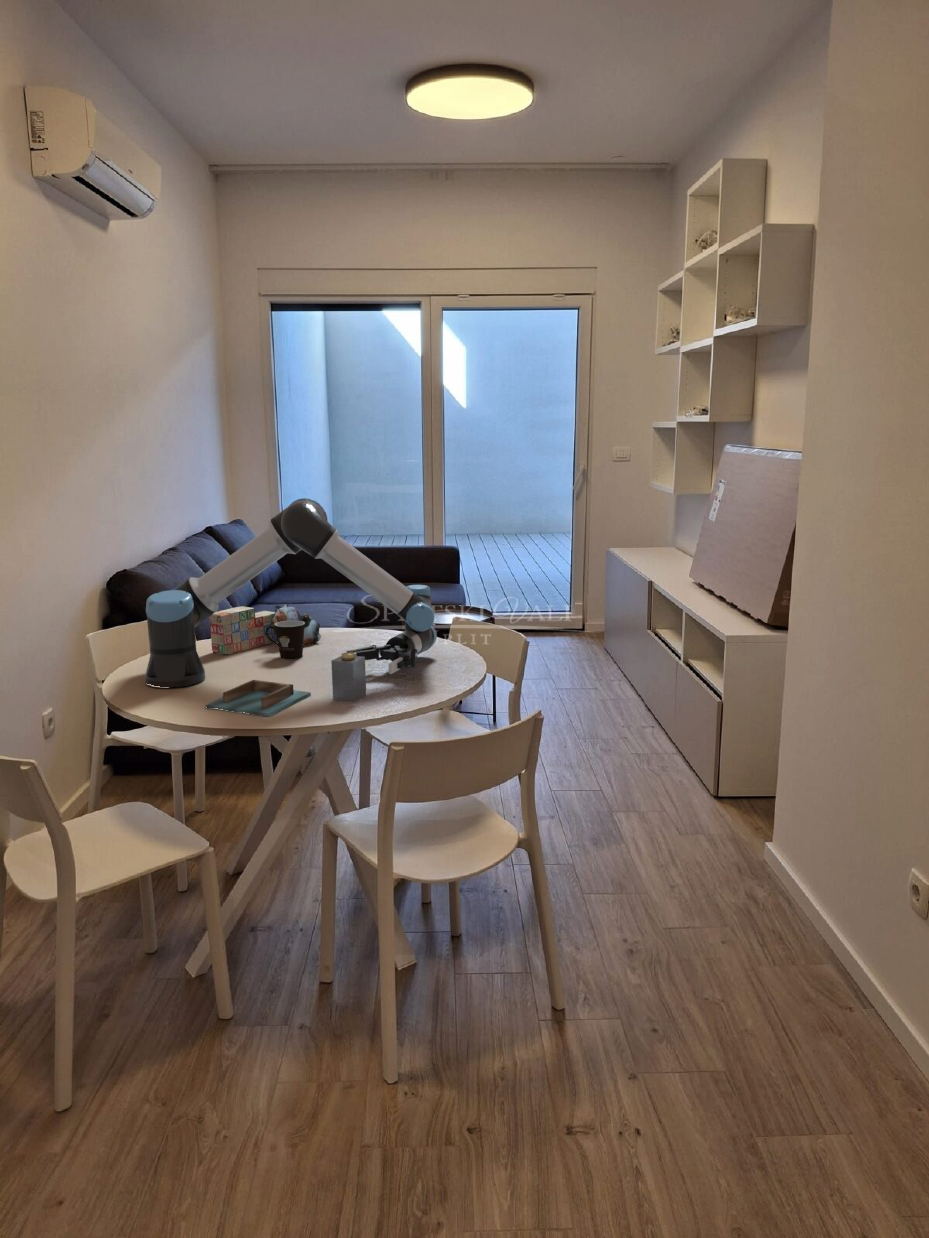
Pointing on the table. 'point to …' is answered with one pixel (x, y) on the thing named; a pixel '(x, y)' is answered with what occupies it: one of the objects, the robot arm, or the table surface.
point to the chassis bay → (259, 698)
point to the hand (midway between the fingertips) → (366, 666)
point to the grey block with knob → (348, 677)
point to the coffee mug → (289, 638)
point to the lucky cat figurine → (292, 614)
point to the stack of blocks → (240, 629)
